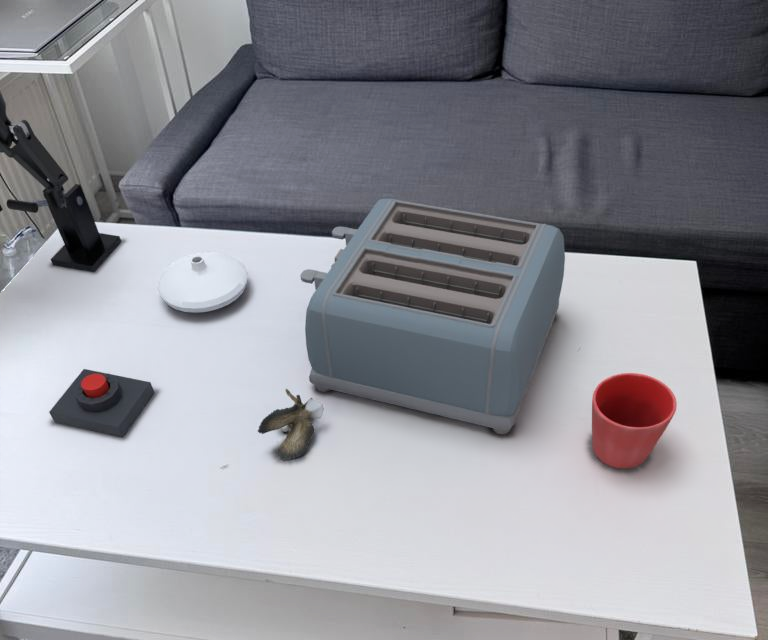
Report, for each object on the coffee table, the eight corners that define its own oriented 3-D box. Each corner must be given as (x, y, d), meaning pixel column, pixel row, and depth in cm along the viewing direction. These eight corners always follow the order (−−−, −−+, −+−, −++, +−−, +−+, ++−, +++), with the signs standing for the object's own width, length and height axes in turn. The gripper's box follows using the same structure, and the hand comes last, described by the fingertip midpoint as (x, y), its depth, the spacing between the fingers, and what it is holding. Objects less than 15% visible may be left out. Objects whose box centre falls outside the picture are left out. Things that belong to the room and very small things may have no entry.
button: (80, 396, 112) (76, 387, 111) (93, 380, 114) (89, 371, 113) (101, 400, 112) (97, 391, 110) (113, 384, 114) (109, 375, 112)
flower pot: (567, 433, 108) (578, 383, 101) (635, 414, 110) (651, 364, 102) (602, 486, 102) (616, 437, 95) (673, 465, 104) (693, 415, 96)
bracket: (94, 271, 138) (68, 207, 128) (52, 264, 140) (23, 201, 130) (121, 241, 144) (98, 177, 133) (81, 235, 146) (55, 171, 135)
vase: (151, 284, 135) (139, 250, 129) (233, 258, 139) (225, 223, 133) (177, 333, 126) (165, 299, 120) (264, 304, 130) (256, 269, 124)
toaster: (361, 274, 134) (354, 181, 120) (559, 312, 125) (576, 217, 111) (288, 386, 117) (270, 294, 103) (511, 440, 108) (524, 347, 94)
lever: (33, 216, 123) (30, 200, 122) (7, 212, 124) (5, 196, 123) (83, 206, 134) (81, 192, 133) (59, 203, 135) (57, 189, 134)
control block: (54, 422, 114) (43, 403, 111) (88, 379, 120) (79, 359, 117) (123, 437, 112) (114, 418, 109) (154, 392, 117) (147, 373, 114)
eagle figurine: (274, 404, 113) (247, 438, 107) (295, 375, 108) (268, 408, 102) (314, 435, 114) (290, 470, 108) (337, 408, 109) (313, 443, 103)
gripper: (56, 82, 109) (105, 216, 125) (-84, 67, 114) (-19, 197, 131) (27, 105, 104) (82, 241, 121) (-117, 89, 110) (-45, 221, 127)
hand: (30, 218), depth 126 cm, fingers open, 13 cm apart
